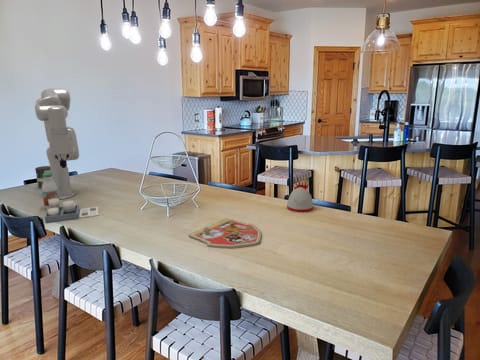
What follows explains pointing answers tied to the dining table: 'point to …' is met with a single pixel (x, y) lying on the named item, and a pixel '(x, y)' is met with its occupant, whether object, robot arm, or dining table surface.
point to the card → (88, 212)
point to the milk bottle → (48, 189)
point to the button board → (62, 215)
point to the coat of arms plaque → (228, 234)
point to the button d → (68, 205)
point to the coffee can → (41, 174)
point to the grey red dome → (300, 199)
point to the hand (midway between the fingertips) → (63, 167)
